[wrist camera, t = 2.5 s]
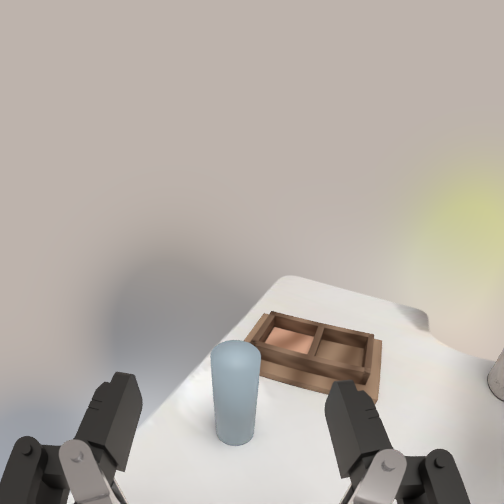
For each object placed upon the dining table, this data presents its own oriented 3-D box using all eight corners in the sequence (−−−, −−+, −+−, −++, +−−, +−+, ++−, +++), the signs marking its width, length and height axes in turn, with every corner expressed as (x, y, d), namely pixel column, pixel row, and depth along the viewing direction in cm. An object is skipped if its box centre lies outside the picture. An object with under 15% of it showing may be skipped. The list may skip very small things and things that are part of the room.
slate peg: (247, 414, 31) (252, 337, 26) (258, 441, 27) (267, 368, 22) (213, 420, 30) (206, 343, 25) (221, 448, 26) (215, 377, 21)
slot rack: (380, 344, 44) (386, 329, 42) (375, 403, 32) (383, 387, 30) (263, 317, 51) (264, 301, 50) (228, 365, 39) (228, 347, 38)
